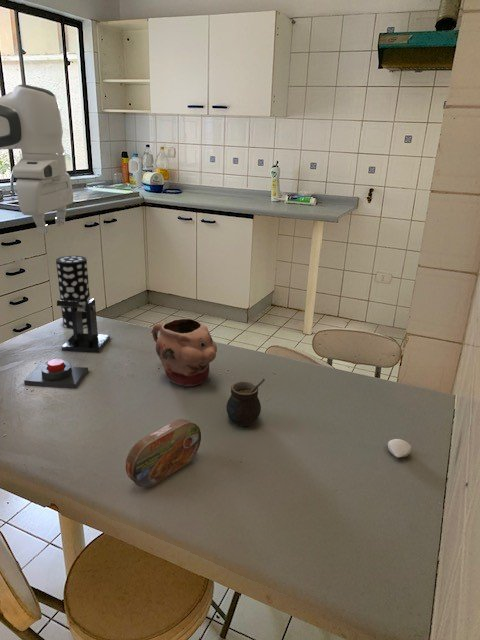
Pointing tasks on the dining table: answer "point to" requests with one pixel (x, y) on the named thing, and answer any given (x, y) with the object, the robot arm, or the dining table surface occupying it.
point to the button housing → (57, 376)
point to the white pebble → (399, 448)
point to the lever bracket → (79, 338)
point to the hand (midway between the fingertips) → (52, 229)
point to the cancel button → (55, 365)
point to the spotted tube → (72, 284)
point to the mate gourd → (244, 403)
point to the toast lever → (73, 305)
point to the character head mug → (184, 350)
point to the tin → (163, 452)
